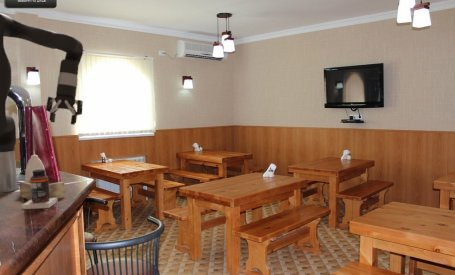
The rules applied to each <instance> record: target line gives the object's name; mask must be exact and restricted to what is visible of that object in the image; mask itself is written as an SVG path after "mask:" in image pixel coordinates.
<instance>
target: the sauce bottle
mask: <svg viewBox="0 0 455 275" xmlns="http://www.w3.org/2000/svg"><path fill="white" fill-rule="evenodd" d="M40 169H43V170H45V175H47V173H46V168H45V166H44V163H43V161H42V160H41V159H40V157H39V156H38V154H36V151H35V150H33V154H32V155H31V156H30V158H29V160H28V161H27V163H26V168H25V174H24V179H25V181H29V180H30V178H31V177H32V176H33V171H34V170H40Z"/></svg>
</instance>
